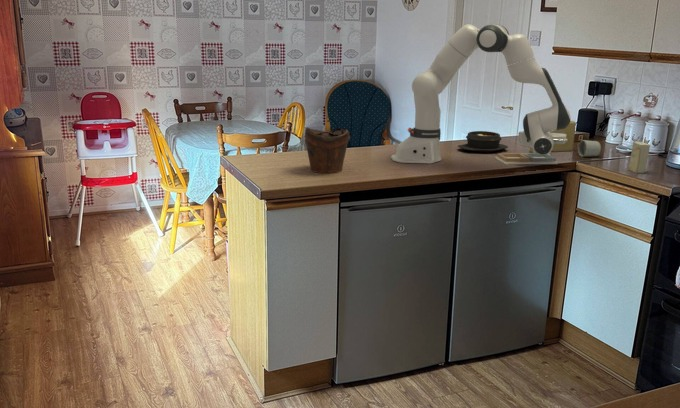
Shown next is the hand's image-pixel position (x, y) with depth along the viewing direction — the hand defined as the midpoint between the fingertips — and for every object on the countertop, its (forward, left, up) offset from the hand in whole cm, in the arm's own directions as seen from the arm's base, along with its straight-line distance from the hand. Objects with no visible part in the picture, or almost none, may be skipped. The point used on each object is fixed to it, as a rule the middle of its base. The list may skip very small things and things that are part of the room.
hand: (541, 134), depth 275 cm
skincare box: (+34, -23, -12) cm, 42 cm away
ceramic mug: (+28, +10, -12) cm, 32 cm away
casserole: (-18, +24, -12) cm, 33 cm away
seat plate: (-6, -1, -12) cm, 14 cm away
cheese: (+14, +22, -12) cm, 29 cm away
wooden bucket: (-97, -15, -12) cm, 99 cm away
